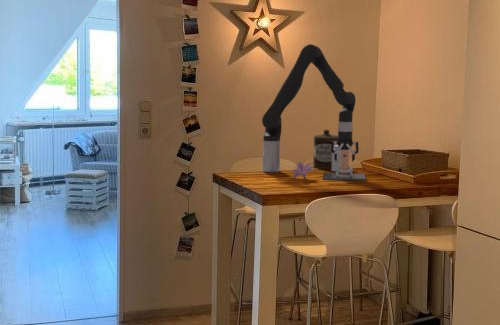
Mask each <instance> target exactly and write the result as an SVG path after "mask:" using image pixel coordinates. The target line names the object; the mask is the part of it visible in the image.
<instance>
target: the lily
mask: <svg viewBox="0 0 500 325" xmlns="http://www.w3.org/2000/svg"><path fill="white" fill-rule="evenodd" d="M314 170H315V168H314V167H311V162H308V163H306V164H305V165H304V163H303V162H302V161H297V165H296V168H295V169H292V170H291V171H290V172H291V173H294V174H293V175H292V179H296V178H297V177H300V176H301V177H302V178H304V177H307V173H309V172H311V171H312V172H313V171H314ZM305 180H306V181H307V179H306V178H304V181H305Z"/></svg>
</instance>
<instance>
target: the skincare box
mask: <svg viewBox="0 0 500 325" xmlns="http://www.w3.org/2000/svg"><path fill="white" fill-rule="evenodd" d="M338 147H339V146H338V145H334V149H333V150H334V151H335V150H336V149H337V148H338ZM340 166H341V149H340V150H339V151H338V152H337V161H336V160H334V153H332V169H331V171H332V172H334V173H336V167H340ZM348 167H350V165H348Z"/></svg>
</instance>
